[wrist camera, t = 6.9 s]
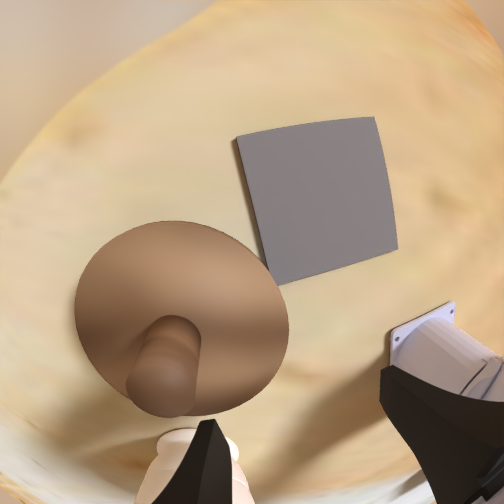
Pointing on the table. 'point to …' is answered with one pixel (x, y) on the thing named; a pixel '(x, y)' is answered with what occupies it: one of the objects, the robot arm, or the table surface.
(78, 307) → the lid
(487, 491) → the robot arm
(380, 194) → the mat
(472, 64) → the table surface
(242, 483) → the jar
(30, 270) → the table surface
